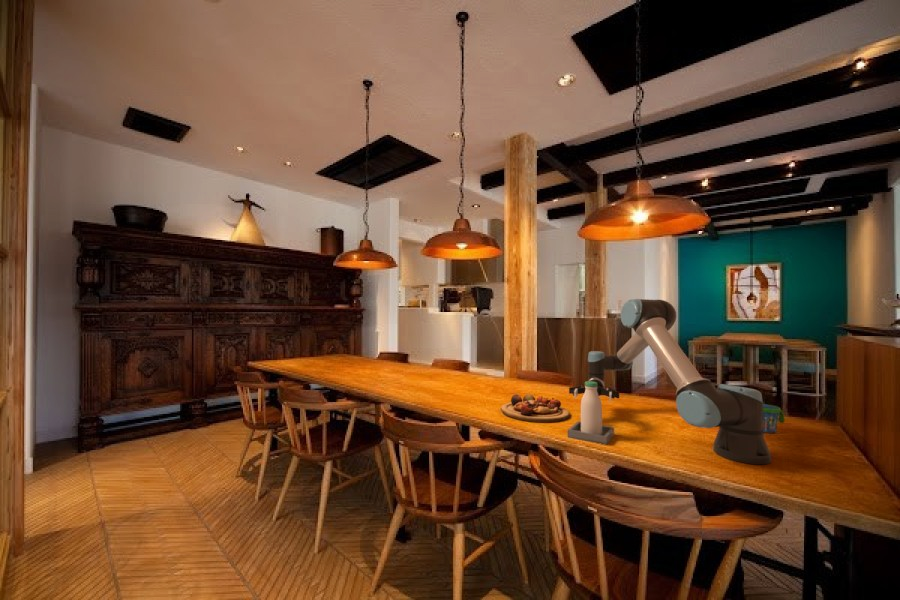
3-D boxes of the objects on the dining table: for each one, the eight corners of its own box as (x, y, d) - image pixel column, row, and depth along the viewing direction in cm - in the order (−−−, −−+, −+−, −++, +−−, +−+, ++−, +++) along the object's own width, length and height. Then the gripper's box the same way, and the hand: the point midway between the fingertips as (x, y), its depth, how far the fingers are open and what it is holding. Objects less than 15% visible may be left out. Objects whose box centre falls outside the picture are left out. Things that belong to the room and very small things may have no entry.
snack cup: (774, 427, 152) (773, 403, 152) (795, 435, 142) (794, 409, 142) (734, 426, 154) (734, 402, 154) (752, 434, 143) (752, 408, 144)
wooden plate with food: (547, 428, 149) (548, 408, 149) (487, 412, 171) (487, 395, 171) (581, 415, 171) (581, 397, 172) (524, 402, 194) (524, 387, 194)
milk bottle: (605, 437, 135) (605, 384, 136) (584, 437, 135) (584, 383, 136) (597, 430, 143) (597, 380, 144) (578, 430, 143) (577, 380, 144)
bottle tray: (614, 434, 141) (614, 427, 141) (606, 445, 129) (606, 437, 130) (577, 427, 149) (577, 421, 149) (567, 437, 137) (567, 429, 138)
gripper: (625, 398, 162) (626, 409, 143) (567, 392, 172) (561, 402, 153) (624, 381, 162) (625, 390, 143) (567, 376, 173) (561, 384, 153)
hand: (592, 396), depth 148 cm, fingers open, 13 cm apart
